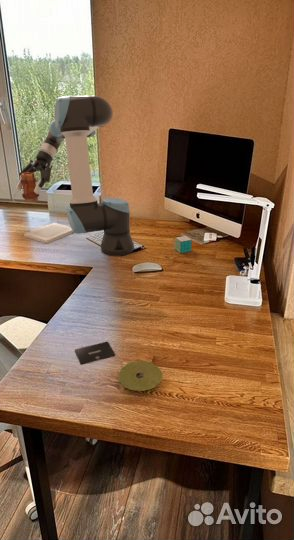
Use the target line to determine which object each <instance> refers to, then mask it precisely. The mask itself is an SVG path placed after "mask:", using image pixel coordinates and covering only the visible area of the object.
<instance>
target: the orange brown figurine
mask: <svg viewBox="0 0 294 540" xmlns="http://www.w3.org/2000/svg"><path fill="white" fill-rule="evenodd" d="M20 178H21V180H20V179H19V180H20V181H21V183H22V186H23V187H22V191H23V192H22V194H21V196H22V198H23V199H24V202H25V203H34V202H37V201H38V200H39V199H38V198H39V196H40V193H38V194H36V193H35V192H34V189H35V187H36V185H37V183H38V182H37V181H38V180H37V178H36V177H35V172H34V173H32V172H26V173H25V172H24V173H22V174H21V176H20Z"/></svg>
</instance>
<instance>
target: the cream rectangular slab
mask: <svg viewBox="0 0 294 540" xmlns="http://www.w3.org/2000/svg"><path fill="white" fill-rule="evenodd" d="M73 233H74V232H73V230H72V229H71V226H70V225H69V226H68V225H65V224H60V223H57V222H53V223H50V224H47V225H43V226H41V227H39V228H36V229H33V230H30V231H28V232H26V233H24V234H23V235H24V238H28V239H31V240H34V241H38V242H41V243H43V244H49V243H52V242H55V241H57V240H60V239H62V238H64V237H67V236H69V235H71V234H73ZM74 234H75V233H74Z"/></svg>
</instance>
